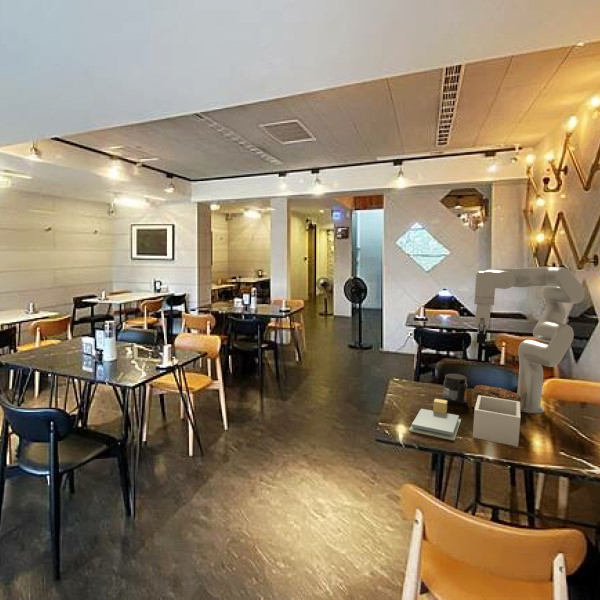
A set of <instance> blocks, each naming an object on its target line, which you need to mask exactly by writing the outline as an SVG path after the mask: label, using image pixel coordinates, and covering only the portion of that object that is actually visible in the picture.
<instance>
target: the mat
mask: <svg viewBox="0 0 600 600" xmlns="http://www.w3.org/2000/svg"><path fill="white" fill-rule="evenodd" d="M461 422H462V418H459V419H458V422H457V425H456V428H455V431H454V434H453V435H446V434H441V433H436V432H431V431H427V430H422V429H417V428H414V427H412V424H411V425H410V427H409V429H408V432H411V433H416V434H422V435H426V436H431V437H436V438H440V439H444V440H445V439H446V440H449V441H456V439H457V438H456V437H457V434H458V431H459V428H460V425H461Z"/></svg>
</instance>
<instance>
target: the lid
mask: <svg viewBox="0 0 600 600" xmlns="http://www.w3.org/2000/svg"><path fill="white" fill-rule="evenodd" d="M447 410H448V402H447V400H444V399H440V398H434V400H433V409H425V408H421V409H419V411H418V413H417V415H416V417H415V418H414V420H413V421H412V423H411V425H412V427H414V428H417V429H422V430H427V431H431V432H436V433H441V434H446V435H453V434H454V431H455V428H456V425H457V422H458V419H460V415H458V414H454V413H448V411H447Z"/></svg>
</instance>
